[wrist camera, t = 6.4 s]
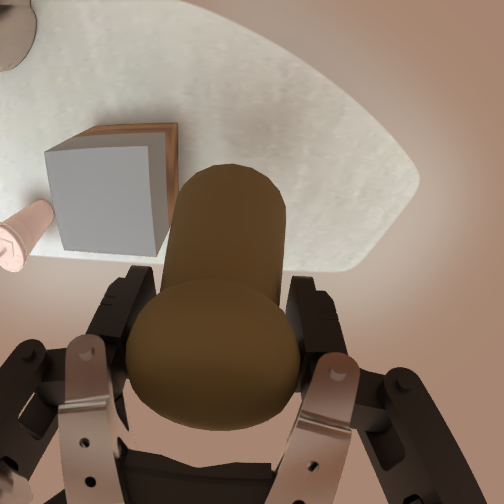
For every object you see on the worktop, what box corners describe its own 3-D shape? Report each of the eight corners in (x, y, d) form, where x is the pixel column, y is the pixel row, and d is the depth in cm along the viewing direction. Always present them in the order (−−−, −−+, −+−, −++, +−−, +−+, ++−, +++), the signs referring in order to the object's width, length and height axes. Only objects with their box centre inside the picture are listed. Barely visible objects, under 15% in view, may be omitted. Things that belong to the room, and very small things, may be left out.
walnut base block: (93, 126, 29) (71, 137, 25) (177, 122, 30) (165, 132, 26) (102, 205, 35) (84, 225, 31) (179, 208, 35) (169, 229, 31)
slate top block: (71, 137, 25) (44, 152, 21) (165, 132, 26) (147, 146, 21) (84, 225, 31) (64, 250, 26) (169, 229, 31) (156, 257, 27)
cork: (248, 141, 14) (242, 300, 5) (305, 234, 17) (351, 421, 8) (152, 202, 16) (59, 375, 7) (215, 279, 19) (194, 456, 10)
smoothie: (69, 220, 36) (12, 287, 24) (43, 238, 37) (-9, 301, 26) (44, 182, 33) (-23, 238, 21) (20, 203, 34) (-41, 259, 22)
